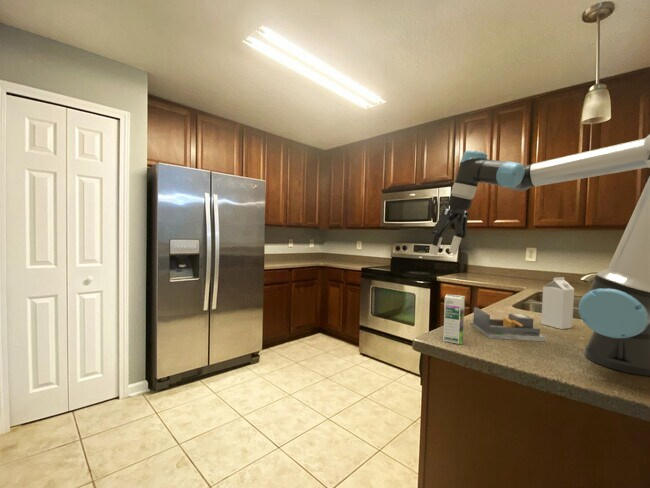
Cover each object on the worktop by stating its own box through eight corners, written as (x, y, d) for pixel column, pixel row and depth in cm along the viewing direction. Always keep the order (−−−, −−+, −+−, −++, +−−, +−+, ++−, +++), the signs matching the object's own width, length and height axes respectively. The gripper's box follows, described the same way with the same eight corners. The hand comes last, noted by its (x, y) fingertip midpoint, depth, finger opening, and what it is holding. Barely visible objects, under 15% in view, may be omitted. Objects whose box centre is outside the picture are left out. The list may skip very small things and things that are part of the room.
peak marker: (523, 335, 96) (524, 324, 96) (518, 334, 96) (519, 324, 96) (507, 325, 106) (508, 316, 106) (503, 325, 106) (503, 316, 106)
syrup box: (442, 341, 93) (444, 296, 92) (444, 336, 98) (446, 293, 97) (462, 345, 90) (464, 298, 90) (463, 339, 95) (465, 295, 95)
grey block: (532, 331, 100) (533, 318, 100) (517, 330, 101) (518, 317, 100) (522, 326, 106) (523, 313, 106) (508, 325, 106) (508, 313, 106)
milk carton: (540, 324, 115) (543, 276, 114) (551, 322, 118) (553, 275, 117) (561, 329, 109) (564, 279, 108) (572, 327, 112) (575, 278, 111)
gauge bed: (546, 341, 96) (547, 319, 95) (488, 338, 97) (489, 316, 97) (519, 326, 111) (520, 308, 110) (470, 324, 112) (471, 305, 112)
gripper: (468, 197, 113) (451, 249, 119) (432, 191, 97) (415, 250, 103) (487, 202, 107) (468, 255, 113) (453, 195, 92) (433, 258, 97)
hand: (443, 253), depth 108 cm, fingers open, 13 cm apart
